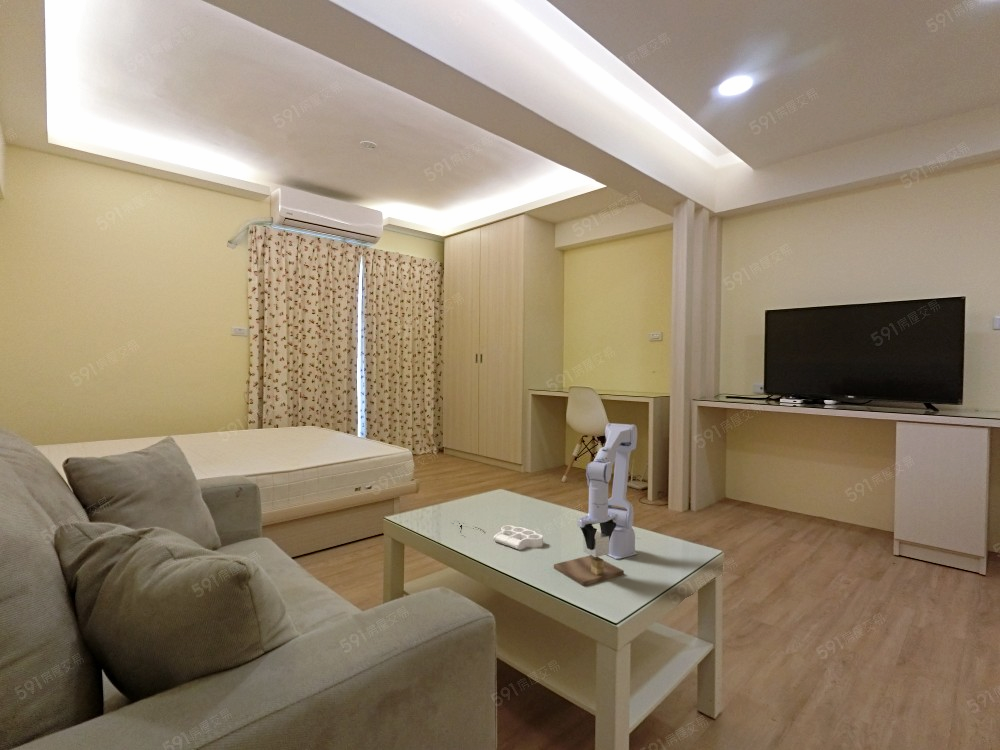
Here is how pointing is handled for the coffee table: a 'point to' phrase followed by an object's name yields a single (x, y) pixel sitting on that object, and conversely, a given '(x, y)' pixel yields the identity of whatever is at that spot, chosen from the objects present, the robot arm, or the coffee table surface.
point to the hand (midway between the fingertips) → (597, 547)
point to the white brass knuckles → (518, 537)
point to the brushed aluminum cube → (598, 545)
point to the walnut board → (588, 570)
